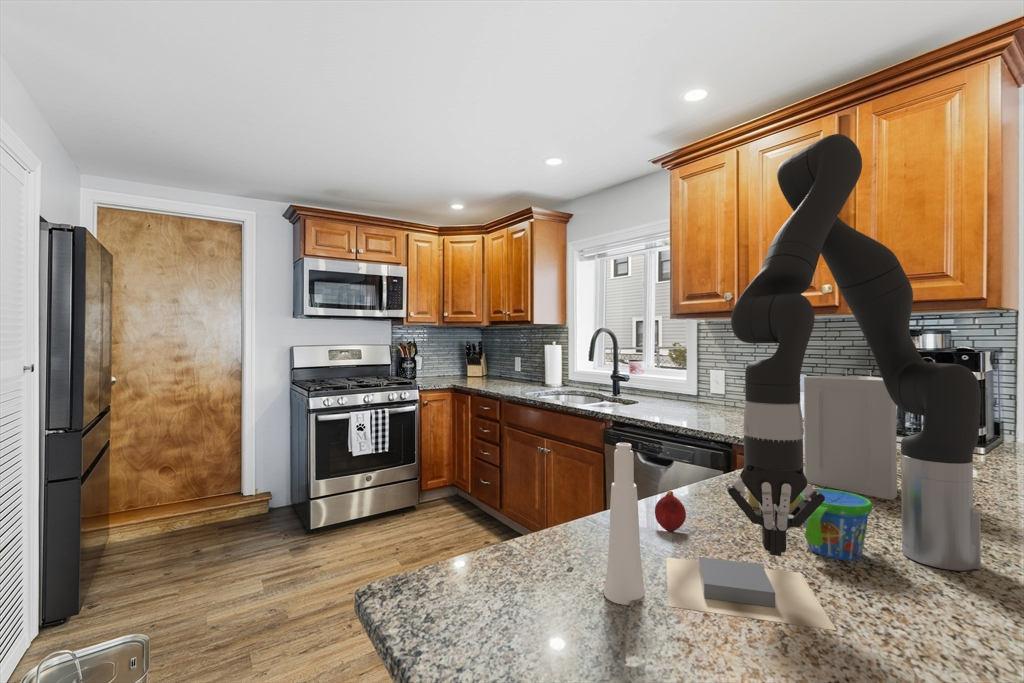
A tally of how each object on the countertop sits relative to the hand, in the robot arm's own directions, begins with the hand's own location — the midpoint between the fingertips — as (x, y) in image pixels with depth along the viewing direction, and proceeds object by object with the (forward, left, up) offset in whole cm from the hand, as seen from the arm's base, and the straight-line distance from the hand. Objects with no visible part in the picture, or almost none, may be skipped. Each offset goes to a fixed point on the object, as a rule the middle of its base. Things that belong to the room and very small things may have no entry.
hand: (773, 553), depth 70 cm
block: (+1, 0, -5) cm, 5 cm away
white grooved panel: (-33, -69, -7) cm, 77 cm away
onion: (+14, -22, -7) cm, 27 cm away
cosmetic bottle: (+21, +5, -7) cm, 22 cm away
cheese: (-9, -47, -7) cm, 48 cm away
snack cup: (-13, -19, -7) cm, 24 cm away
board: (+5, 0, -6) cm, 8 cm away
